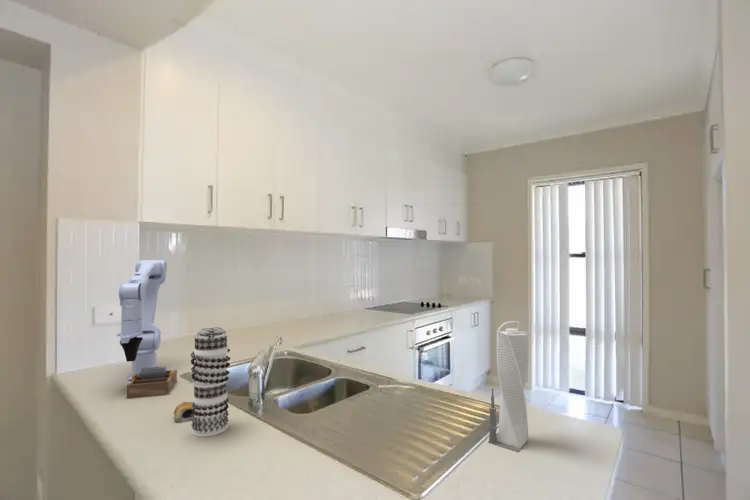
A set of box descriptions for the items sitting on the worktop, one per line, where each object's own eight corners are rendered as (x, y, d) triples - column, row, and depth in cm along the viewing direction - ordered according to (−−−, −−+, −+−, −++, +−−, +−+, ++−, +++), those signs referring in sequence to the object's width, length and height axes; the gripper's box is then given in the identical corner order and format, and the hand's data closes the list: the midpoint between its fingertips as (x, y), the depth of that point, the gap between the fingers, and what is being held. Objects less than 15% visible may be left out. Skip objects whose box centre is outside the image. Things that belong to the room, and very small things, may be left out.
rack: (139, 384, 128) (139, 369, 128) (176, 381, 132) (176, 366, 132) (126, 398, 115) (126, 381, 115) (168, 394, 119) (168, 378, 119)
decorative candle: (191, 424, 97) (192, 327, 98) (230, 418, 100) (230, 325, 101) (187, 440, 89) (188, 333, 89) (229, 433, 92) (230, 331, 93)
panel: (142, 386, 123) (142, 368, 123) (166, 384, 125) (166, 366, 125) (140, 388, 121) (140, 369, 121) (164, 386, 123) (165, 367, 124)
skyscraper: (501, 431, 94) (500, 318, 94) (535, 441, 88) (533, 321, 89) (487, 443, 87) (486, 322, 88) (523, 455, 82) (522, 326, 83)
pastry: (172, 412, 106) (173, 398, 106) (199, 407, 109) (199, 394, 109) (174, 424, 98) (175, 409, 98) (203, 419, 101) (203, 404, 101)
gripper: (124, 316, 129) (124, 356, 129) (109, 323, 116) (108, 368, 115) (148, 315, 131) (147, 354, 131) (135, 322, 118) (135, 366, 117)
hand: (131, 360), depth 123 cm, fingers closed
